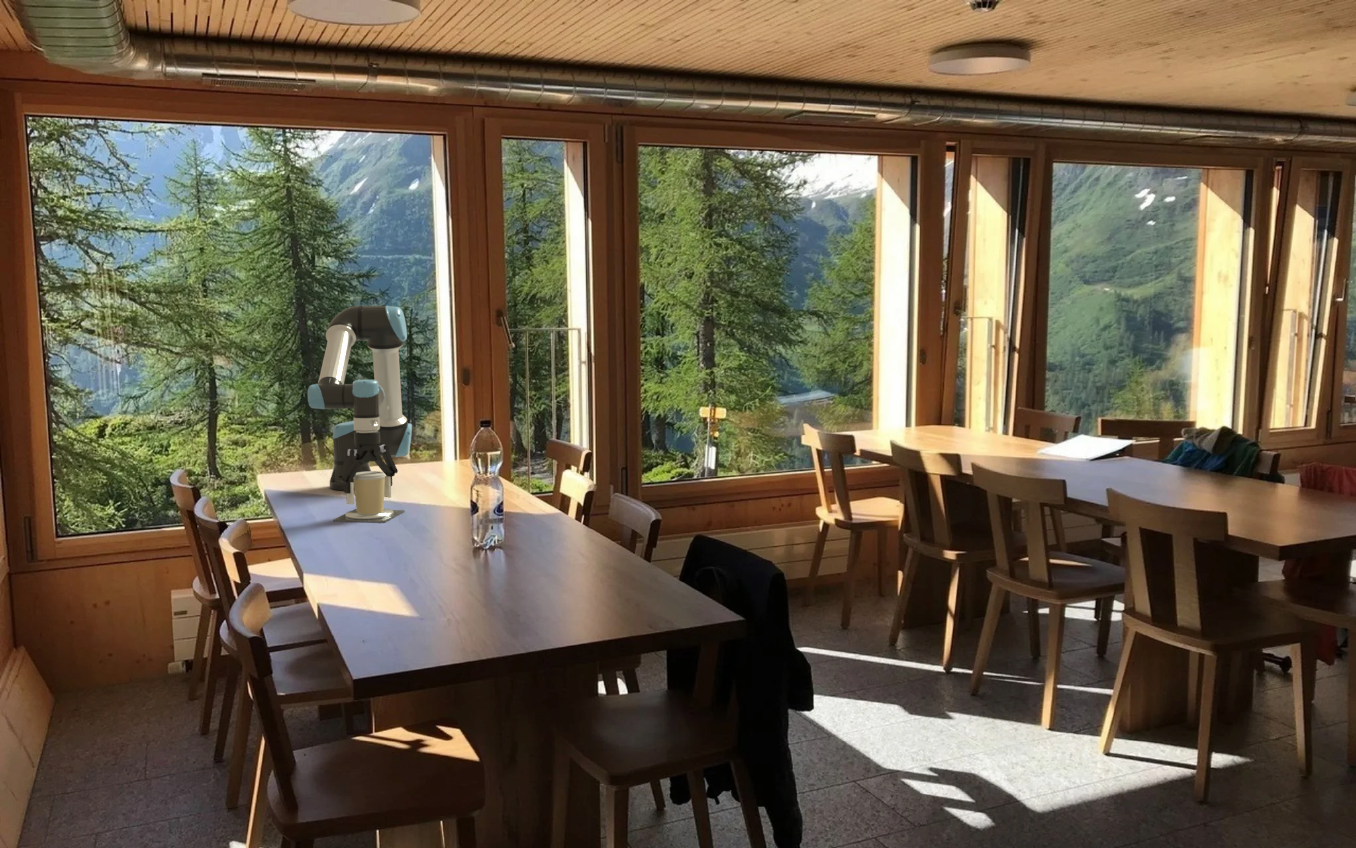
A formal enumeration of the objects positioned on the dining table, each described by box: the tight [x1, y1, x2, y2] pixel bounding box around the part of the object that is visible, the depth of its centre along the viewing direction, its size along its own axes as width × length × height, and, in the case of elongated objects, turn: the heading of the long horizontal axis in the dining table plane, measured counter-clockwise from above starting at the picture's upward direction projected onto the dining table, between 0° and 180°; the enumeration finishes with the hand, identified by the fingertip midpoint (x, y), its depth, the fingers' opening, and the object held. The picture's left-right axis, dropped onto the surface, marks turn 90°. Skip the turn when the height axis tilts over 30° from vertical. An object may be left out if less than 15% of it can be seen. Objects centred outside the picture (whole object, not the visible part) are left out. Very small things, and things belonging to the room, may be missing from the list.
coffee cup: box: [353, 470, 386, 515], centre depth 318 cm, size 9×9×12 cm
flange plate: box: [332, 507, 406, 524], centre depth 319 cm, size 16×16×1 cm
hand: (369, 500), depth 318 cm, fingers open, 13 cm apart
